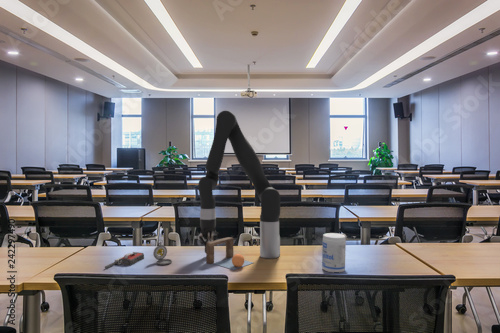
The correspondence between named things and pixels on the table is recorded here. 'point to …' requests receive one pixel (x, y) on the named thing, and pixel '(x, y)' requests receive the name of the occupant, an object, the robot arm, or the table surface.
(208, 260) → the bridge
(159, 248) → the pocket watch
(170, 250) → the table surface
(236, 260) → the ball
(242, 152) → the robot arm
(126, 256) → the walkie-talkie
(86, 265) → the table surface
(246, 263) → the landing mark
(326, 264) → the supplement tub
